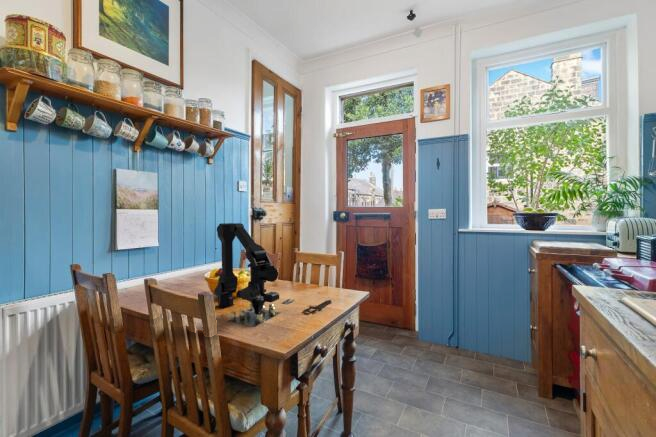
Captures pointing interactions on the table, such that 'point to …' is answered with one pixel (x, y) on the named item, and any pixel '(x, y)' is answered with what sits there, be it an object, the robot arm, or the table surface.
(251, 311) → the nut
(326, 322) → the table surface
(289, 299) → the pliers
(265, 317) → the spacer plate
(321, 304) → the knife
